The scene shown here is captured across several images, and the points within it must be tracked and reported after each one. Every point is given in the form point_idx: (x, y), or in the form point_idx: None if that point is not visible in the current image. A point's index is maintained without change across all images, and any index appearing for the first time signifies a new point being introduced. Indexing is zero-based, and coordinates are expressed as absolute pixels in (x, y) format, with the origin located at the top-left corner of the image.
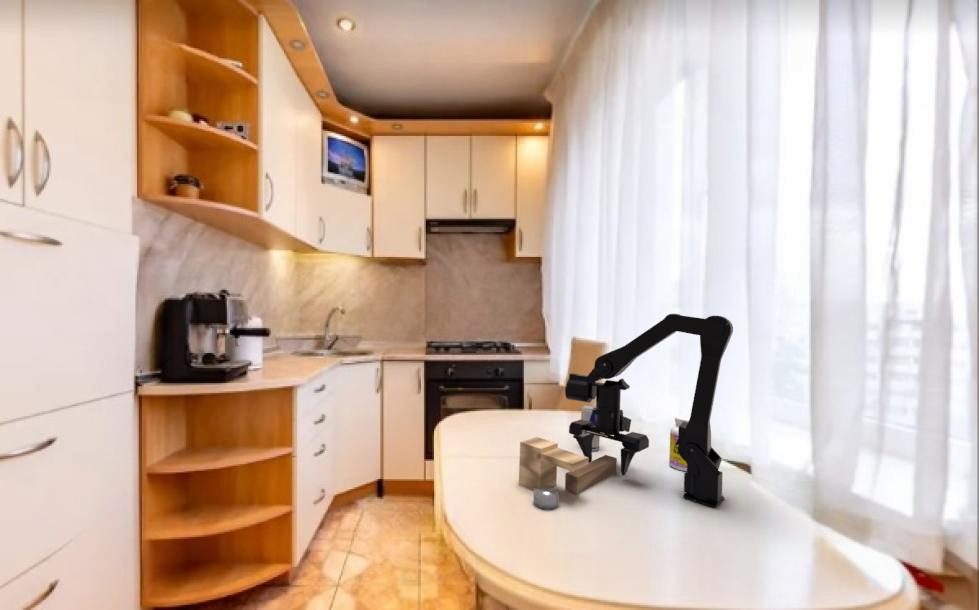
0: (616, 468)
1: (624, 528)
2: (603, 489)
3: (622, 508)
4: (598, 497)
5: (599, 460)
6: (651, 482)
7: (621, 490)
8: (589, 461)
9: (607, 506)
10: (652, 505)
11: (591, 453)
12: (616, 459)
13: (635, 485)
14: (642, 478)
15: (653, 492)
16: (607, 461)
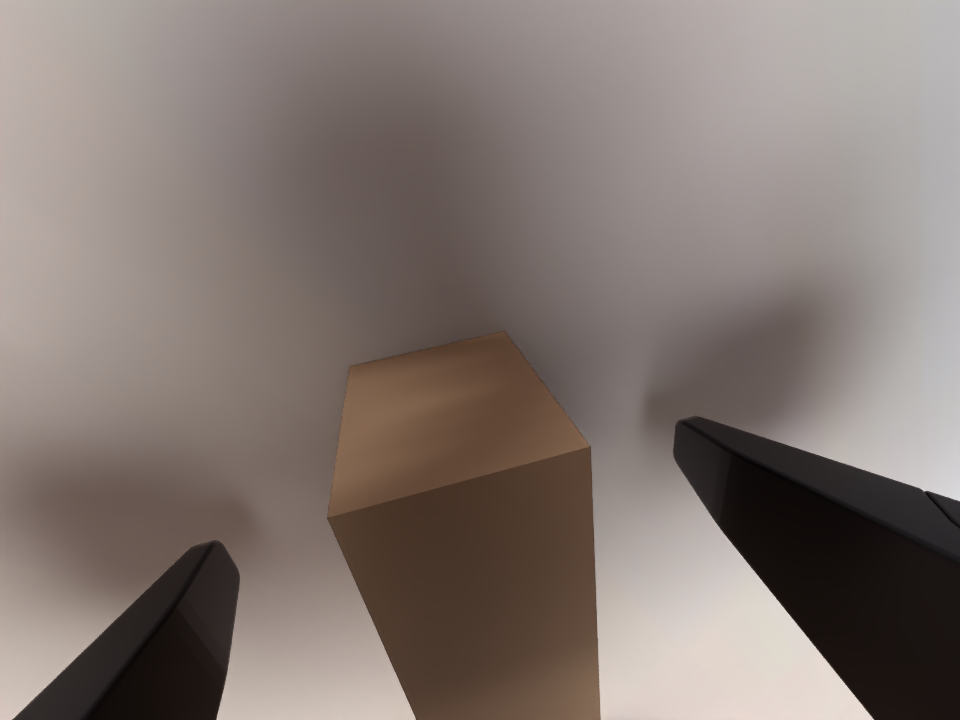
0: (522, 355)
1: (829, 709)
2: (623, 628)
3: (786, 652)
4: (654, 688)
5: (484, 715)
6: (880, 192)
7: (714, 547)
8: (224, 612)
9: (726, 692)
10: None
11: (125, 699)
12: (580, 442)
13: (768, 399)
14: (782, 176)
15: (907, 378)
16: (576, 653)
